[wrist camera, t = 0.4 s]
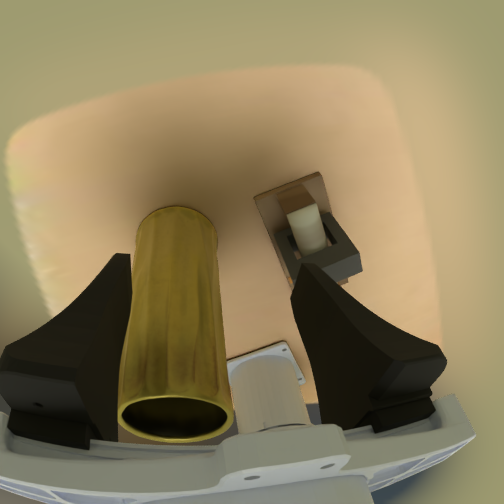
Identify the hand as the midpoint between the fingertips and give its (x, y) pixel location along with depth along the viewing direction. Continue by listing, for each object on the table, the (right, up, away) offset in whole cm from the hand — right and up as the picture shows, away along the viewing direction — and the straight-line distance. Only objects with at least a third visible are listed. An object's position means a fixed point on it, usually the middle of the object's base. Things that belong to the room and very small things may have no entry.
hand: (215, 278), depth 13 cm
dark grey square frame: (+5, +3, +10) cm, 12 cm away
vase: (-4, +2, +11) cm, 11 cm away
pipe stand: (+6, +2, +12) cm, 14 cm away
